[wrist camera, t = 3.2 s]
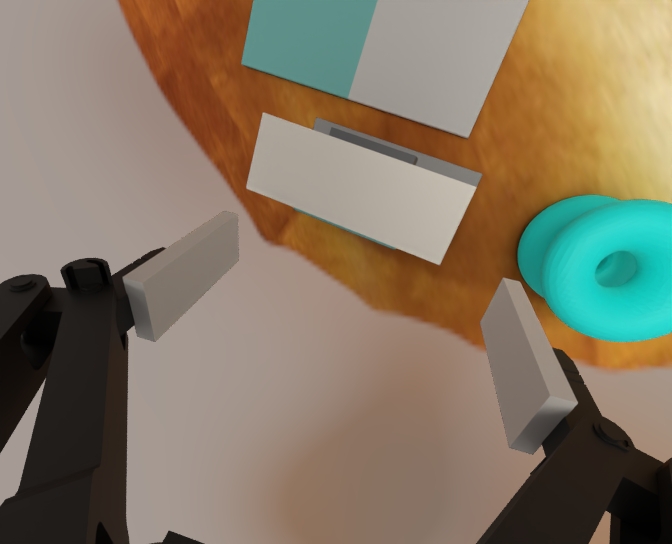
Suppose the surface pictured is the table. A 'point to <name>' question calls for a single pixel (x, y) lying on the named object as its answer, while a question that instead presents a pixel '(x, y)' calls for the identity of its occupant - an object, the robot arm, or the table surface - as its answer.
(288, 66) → the mat
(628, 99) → the table surface
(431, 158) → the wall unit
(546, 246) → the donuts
